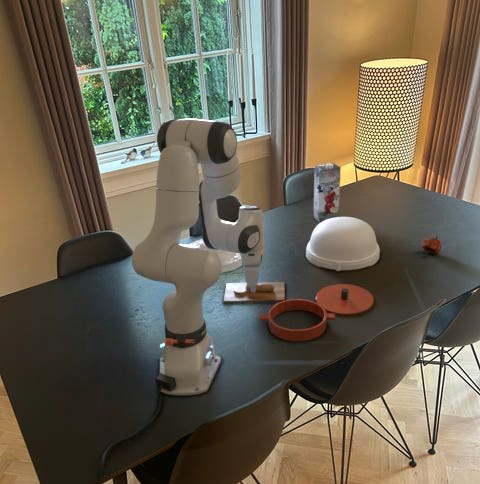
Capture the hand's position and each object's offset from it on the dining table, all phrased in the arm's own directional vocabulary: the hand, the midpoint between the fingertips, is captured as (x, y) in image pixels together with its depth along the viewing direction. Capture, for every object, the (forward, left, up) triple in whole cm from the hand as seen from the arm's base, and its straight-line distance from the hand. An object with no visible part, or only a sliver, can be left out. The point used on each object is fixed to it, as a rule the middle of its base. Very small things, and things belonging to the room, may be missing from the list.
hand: (254, 285), depth 181 cm
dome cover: (+32, -35, -4) cm, 47 cm away
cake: (+31, +18, -4) cm, 36 cm away
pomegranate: (+30, -70, -4) cm, 76 cm away
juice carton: (+69, -31, -4) cm, 75 cm away
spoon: (+1, -1, -3) cm, 3 cm away
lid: (-5, -32, -3) cm, 33 cm away
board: (+1, 0, -4) cm, 4 cm away
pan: (-20, -15, -4) cm, 26 cm away
